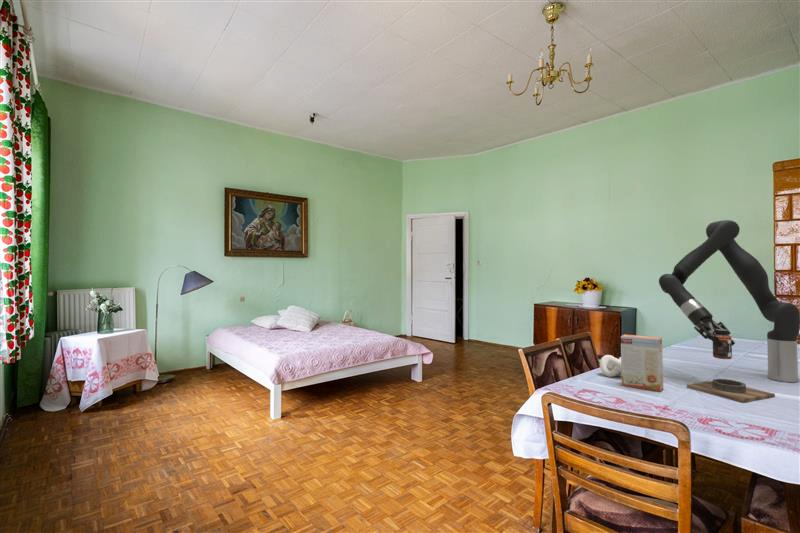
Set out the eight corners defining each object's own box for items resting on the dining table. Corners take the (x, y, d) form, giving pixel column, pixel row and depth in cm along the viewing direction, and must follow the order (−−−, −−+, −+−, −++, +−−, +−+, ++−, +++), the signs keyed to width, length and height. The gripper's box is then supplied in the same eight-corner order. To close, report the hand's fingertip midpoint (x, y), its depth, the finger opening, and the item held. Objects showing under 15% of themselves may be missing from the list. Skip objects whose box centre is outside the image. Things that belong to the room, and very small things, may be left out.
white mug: (638, 379, 175) (637, 358, 175) (613, 380, 173) (612, 360, 174) (620, 372, 186) (619, 353, 187) (596, 374, 185) (596, 354, 185)
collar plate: (717, 382, 168) (717, 373, 168) (774, 396, 149) (774, 387, 149) (686, 387, 162) (686, 378, 162) (742, 402, 143) (742, 392, 143)
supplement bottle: (735, 360, 155) (735, 330, 155) (717, 359, 156) (717, 330, 156) (726, 356, 161) (726, 328, 161) (709, 356, 162) (709, 328, 162)
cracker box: (663, 388, 161) (662, 337, 161) (660, 392, 157) (659, 339, 157) (625, 382, 171) (624, 333, 171) (621, 385, 166) (620, 335, 166)
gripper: (689, 307, 163) (721, 341, 152) (714, 305, 168) (747, 338, 157) (677, 318, 168) (707, 352, 157) (701, 316, 173) (732, 349, 162)
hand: (727, 345), depth 157 cm, fingers closed on supplement bottle, 6 cm apart
